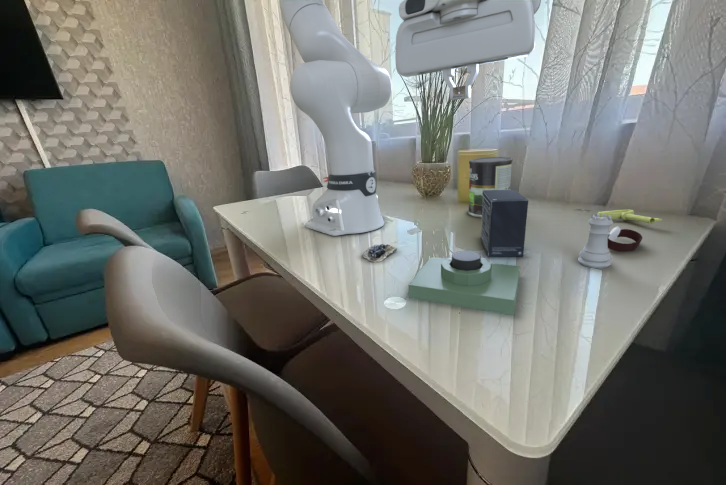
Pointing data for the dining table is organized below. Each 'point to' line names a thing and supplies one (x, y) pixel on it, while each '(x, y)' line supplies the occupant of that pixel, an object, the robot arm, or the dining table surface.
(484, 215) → the small box
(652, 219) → the yellow-green branched tube
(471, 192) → the coffee can
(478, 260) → the spray button
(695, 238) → the dining table surface
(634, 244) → the watch
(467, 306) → the button box
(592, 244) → the rook chess piece
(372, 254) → the blueberries
